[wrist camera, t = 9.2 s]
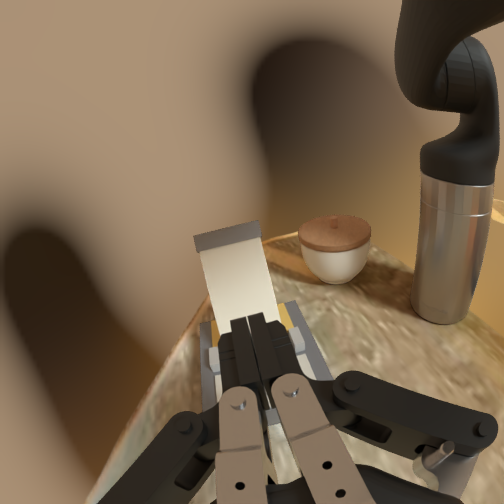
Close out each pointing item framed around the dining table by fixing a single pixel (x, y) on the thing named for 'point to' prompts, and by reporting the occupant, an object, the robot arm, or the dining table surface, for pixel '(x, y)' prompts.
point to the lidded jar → (335, 247)
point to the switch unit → (300, 341)
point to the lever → (237, 274)
